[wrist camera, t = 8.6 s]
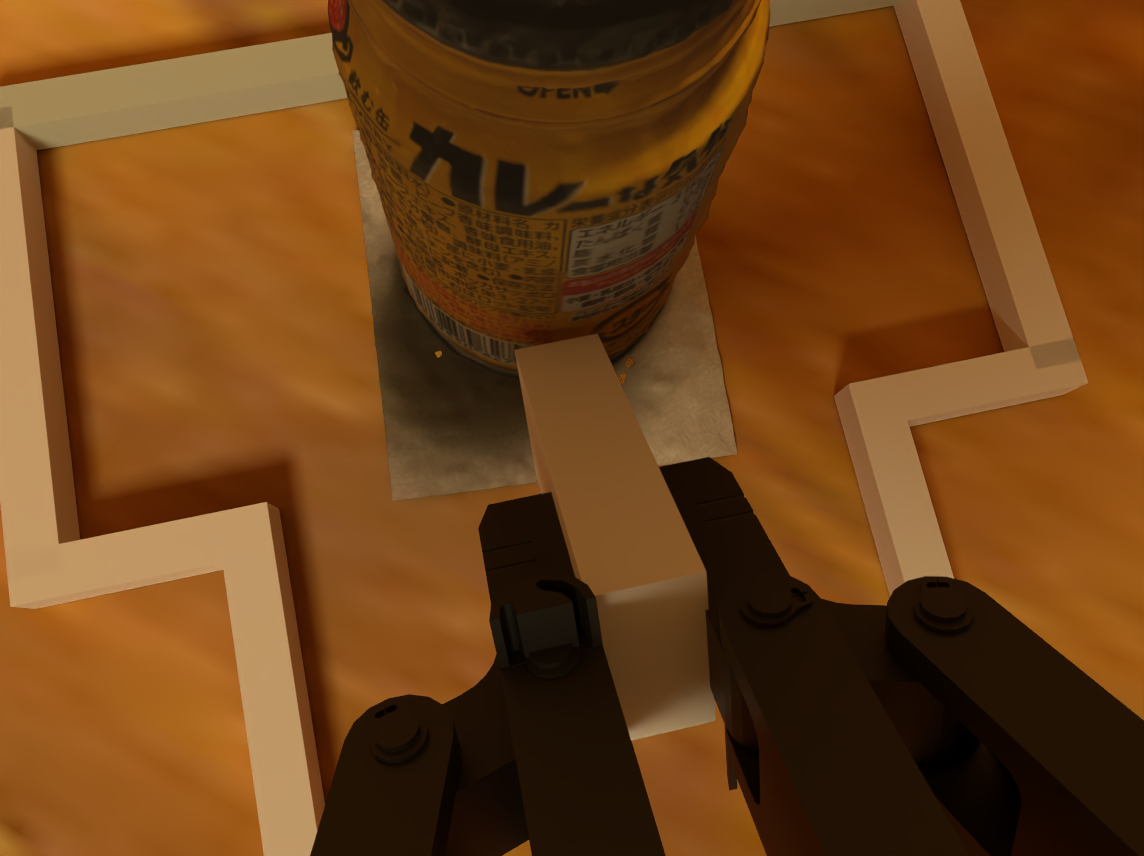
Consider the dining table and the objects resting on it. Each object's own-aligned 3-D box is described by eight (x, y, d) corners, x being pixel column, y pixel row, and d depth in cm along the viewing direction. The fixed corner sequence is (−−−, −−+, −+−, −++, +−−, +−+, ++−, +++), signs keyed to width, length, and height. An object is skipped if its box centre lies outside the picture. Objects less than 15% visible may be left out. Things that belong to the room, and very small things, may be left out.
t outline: (921, -38, 24) (937, -66, 23) (1238, 926, 19) (1275, 940, 19) (-15, 117, 22) (-40, 93, 21) (98, 1225, 18) (73, 1259, 17)
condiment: (669, 100, 23) (816, -469, 11) (736, 456, 21) (991, 217, 10) (353, 135, 22) (163, -424, 11) (394, 503, 21) (220, 313, 9)
